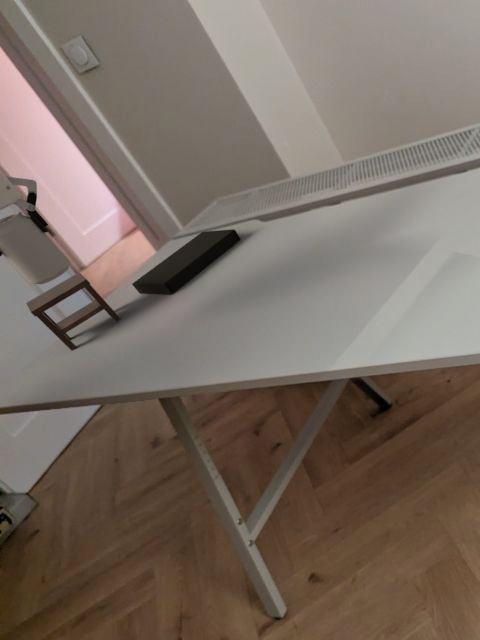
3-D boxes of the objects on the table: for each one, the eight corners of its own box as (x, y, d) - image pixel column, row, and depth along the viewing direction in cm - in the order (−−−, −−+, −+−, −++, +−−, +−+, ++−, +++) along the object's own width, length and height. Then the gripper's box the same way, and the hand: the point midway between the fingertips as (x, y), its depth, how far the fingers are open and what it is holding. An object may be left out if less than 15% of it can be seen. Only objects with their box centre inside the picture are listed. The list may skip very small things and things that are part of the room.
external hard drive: (139, 293, 131) (131, 283, 129) (208, 241, 145) (201, 231, 143) (172, 294, 123) (163, 283, 122) (241, 239, 137) (234, 229, 135)
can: (52, 283, 98) (-2, 225, 91) (25, 290, 101) (-30, 234, 94) (81, 261, 104) (32, 205, 97) (54, 268, 106) (5, 214, 99)
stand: (70, 351, 117) (30, 312, 111) (64, 340, 123) (25, 303, 117) (122, 318, 122) (86, 279, 116) (113, 310, 128) (79, 272, 122)
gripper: (-126, 176, 81) (-27, 273, 92) (-6, 125, 88) (73, 221, 99) (-121, 173, 87) (-28, 265, 97) (-9, 126, 94) (67, 216, 104)
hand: (23, 242), depth 98 cm, fingers closed on can, 7 cm apart
